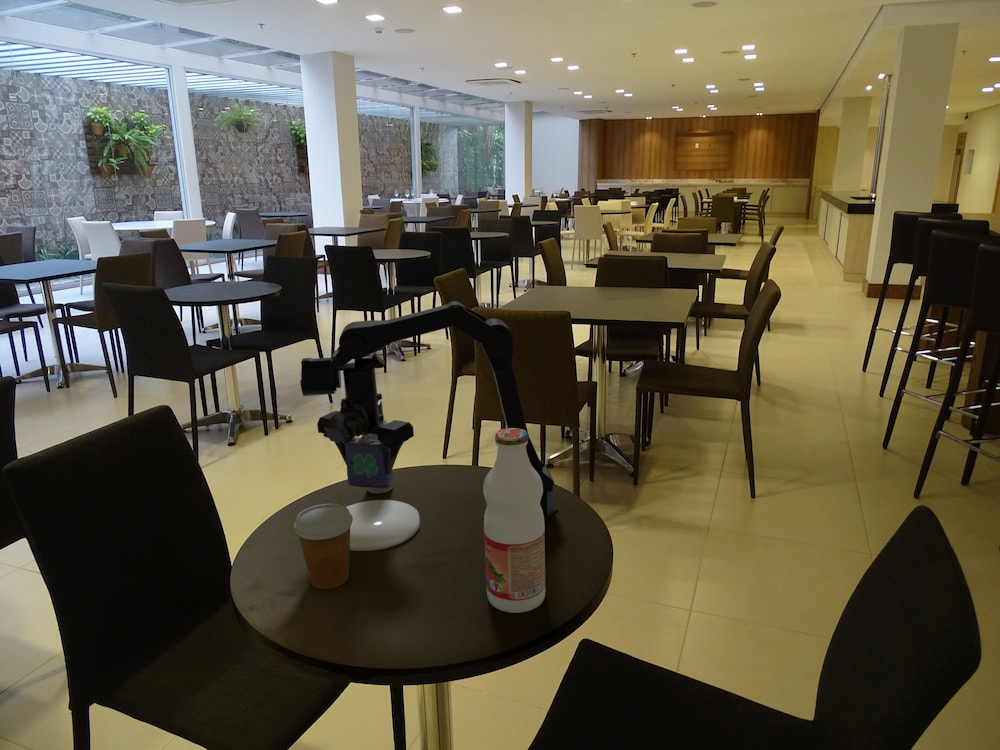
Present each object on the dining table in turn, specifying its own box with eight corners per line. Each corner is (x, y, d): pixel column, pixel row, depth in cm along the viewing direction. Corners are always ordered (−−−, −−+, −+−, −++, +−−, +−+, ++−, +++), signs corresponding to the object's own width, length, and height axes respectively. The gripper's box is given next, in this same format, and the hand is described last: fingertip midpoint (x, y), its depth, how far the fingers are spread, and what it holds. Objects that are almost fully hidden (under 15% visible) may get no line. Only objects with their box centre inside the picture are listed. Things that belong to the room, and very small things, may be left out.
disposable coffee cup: (308, 601, 115) (300, 534, 112) (295, 573, 123) (287, 510, 120) (365, 584, 119) (359, 519, 116) (349, 559, 128) (343, 497, 124)
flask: (395, 483, 137) (390, 430, 134) (389, 489, 134) (384, 436, 131) (351, 480, 139) (345, 428, 136) (344, 486, 136) (338, 433, 133)
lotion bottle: (395, 483, 159) (389, 397, 153) (389, 494, 153) (382, 405, 148) (370, 483, 159) (363, 397, 154) (363, 494, 154) (355, 405, 148)
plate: (437, 517, 142) (437, 510, 142) (381, 559, 127) (380, 551, 127) (366, 500, 151) (365, 493, 150) (305, 538, 136) (304, 531, 135)
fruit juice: (540, 617, 109) (537, 445, 101) (480, 611, 111) (472, 442, 103) (549, 583, 118) (547, 423, 110) (494, 578, 120) (487, 421, 112)
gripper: (291, 398, 129) (301, 477, 133) (373, 410, 120) (381, 495, 124) (333, 381, 138) (341, 456, 143) (412, 392, 130) (418, 471, 134)
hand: (368, 470), depth 136 cm, fingers closed on flask, 9 cm apart
